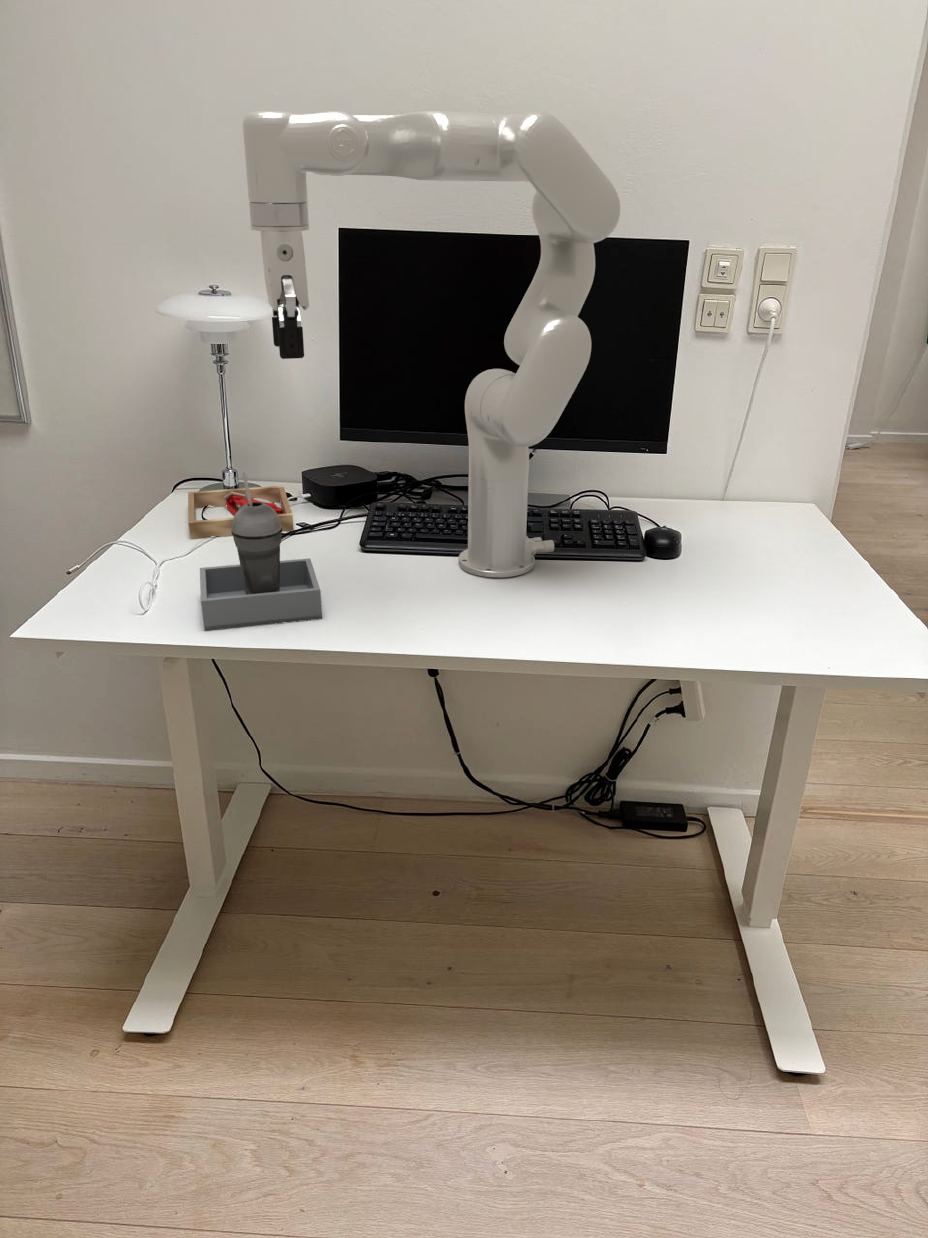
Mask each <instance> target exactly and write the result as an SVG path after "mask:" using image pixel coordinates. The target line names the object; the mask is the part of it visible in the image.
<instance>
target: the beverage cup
mask: <svg viewBox="0 0 928 1238" xmlns="http://www.w3.org/2000/svg"><path fill="white" fill-rule="evenodd" d="M241 474H242V478H243V484H244V488H245V489H246V494H247V499H248V503H247V504H245V505H244V506H242V507H241V506H240V508H238V509H239V510H238V511H237V513H236V514H235V516H234V515H233V516H234V517H232V518H233V522H232V530H231V533H232V535H233V536H232V538H233V541H234V544H235V547H236V550H237V555H238V561H239V564H240V566H241V571H242V577H243V582H244V587H245V592H246V595H248V594H259V593H269V592H280V561H281V543H282V536H283V535H282V534H283V532H282V530H283V529H282V526H281V523H280V519H279V517H278V515H277V513H276V512H275V510H274V509H273V508H271V507H270V506H268V505H267V504H265V503H261V502H252V501H251V496H250V491H249V488H250V486H249V482H248V477H247V473H246V471H245V472H244V471H243V472H242V473H241Z"/></svg>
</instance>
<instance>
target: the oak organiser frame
mask: <svg viewBox="0 0 928 1238" xmlns="http://www.w3.org/2000/svg"><path fill="white" fill-rule="evenodd" d="M249 491H250V496H251V498H261V499H265V500H268V501H271V502H276V503H279V504H281V505H280V508H281V507H282V508H281V509H282V510H283V513H282V514H277V515H278V517H279V519H280V523H281V526H282V529H283V530H282V531H286V532H293V531H292V530H294V518H293V511H292V509H291V506H290V502H289V500H288V496H287V493H286V490H285V486H284V485H271V486H260V487H259V486H257V487H249ZM230 492H236V493H240V494H244V495H245V497H243V499H247V494H246V489H245V487H243V488H230V489H215V490H199V491H188V492H187V503H188V509H187V510H188V519H187V520H188V529H189V538H190V540H198V538H199V539H207V538H206V537H211V536H224V537H233V535H232V533H231V530H232V522H233V518H234V517H227V518H226V517H225V518H213V519H210V518H209V519H201V520H197V518H196V517H197V516H196V509H203V508H202V507H205V506H207V505H211V506H221V507H227V506H226V499H223V498H224V497H225V496H226V495H227V494H229V493H230ZM230 502H231V501H230ZM236 506H239V505H238V504H237V503H236ZM294 531H295V530H294ZM211 538H212V537H211Z"/></svg>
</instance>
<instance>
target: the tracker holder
mask: <svg viewBox="0 0 928 1238" xmlns="http://www.w3.org/2000/svg"><path fill="white" fill-rule="evenodd" d="M243 497H245V495H244V494H240V493H236V492H230V493H229V494H227V495H226V496H225V497H224V498H223V499H226V505H227V506H226V507H227V509H228V510H229V512H230V513H231V514H232V515H233V516H235V514H236V513H237V511H238V510H239V509H240V508H241V507H242V506H244V505H245V504H247V503H248V499H243ZM230 501H231V502H230ZM251 501H252V502H261V503H265V504H267V505H268V506H270V507H271V508H273V509H274V510H275V512H276V513H277V514H283V512H282V511H283V510H282V508H281V506H280V507H279V506H277V504H276V503H273V502H271V501H268V500H265V499H261V498H251ZM236 503H237V504H238V505H236ZM238 506H239V507H240V508H238Z"/></svg>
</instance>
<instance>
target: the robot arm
mask: <svg viewBox="0 0 928 1238" xmlns="http://www.w3.org/2000/svg"><path fill="white" fill-rule="evenodd" d="M242 129H243V130H242V132H243V144H244V145H243V146H244V156H245V157H244V158H245V168H246V169H245V170H246V180H247V181H246V182H247V183H246V184H247V193H248V207H249V218H250V220H249V221H250V230H251V231H256V232H257V231H258V232H260V239H261V240H260V241H261V252H262V265H263V274H264V282H265V289H266V295H267V300H268V303H269V305H270V307H271V308H272V317H271V320H272V321H271V324H272V337H273V345H274V346H275V347H277V348H278V350H279V357H280V358H281V359H282V360H286V359H287V360H291V359H293V360H294V359H303V358H304V357H305V345H304V332H303V331H304V330H303V329H304V328H303V326H302V319H301V312H300V307H301V308H302V309H303V311H306V310H308V309H309V308H310V301H309V300H310V299H309V291H308V281H307V279H308V278H307V277H308V276H307V266H306V265H307V263H306V253H305V246H304V238H303V237H304V236H303V233H302V231H303V232H305V231H309V230H310V221H309V206H308V205H309V203H308V188H307V187H308V186H307V172H309V173H313V174H315V175H319V176H334V177H341V176H383V177H384V176H385V177H396V178H397V177H398V178H405V179H411V180H415V181H416V180H417V181H434V182H435V181H438V182H444V181H445V182H446V181H447V182H448V181H449V182H451V181H452V182H453V181H454V182H457V181H458V182H459V181H461V182H466V181H467V182H469V181H470V182H528V183H530V184H531V185H532V187H533V188H534V190H535V194H534V195H533V199H532V203H531V214H532V219H533V222H534V224H535V227H536V230H537V233H538V236H539V237H538V238H539V240H540V259H539V262H538V263H539V264H538V266H537V269H536V271H535V273H534V276H533V278H532V281H531V283H530V284H529V286H528V288H527V290H526V292H525V293H524V296H523V298H522V300H521V302H520V304H519V305H518V307H517V309H516V311H515V313H514V314H513V317H512V318H511V321H510V322H509V324H508V325H507V328H506V331H505V334H504V339H503V340H504V341H503V345H504V350H505V352H506V354H507V356H508V357H509V358H510V360H511V361H513V362H514V363H515V364H516V365H518V366H519V368H518V369H517V371H516V373H515V372H513V371H510V370H507V369H503V368H492V369H490V368H489V369H487V370H484V371H482V372H481V373H479V374H477V375H476V376H475V377H474V378H473V379H472V380H471V382H470V384H469V386H468V388H467V390H466V393H465V399H464V415H465V416H464V417H465V424H466V431H467V438H468V439H467V440H468V502H467V503H468V506H467V507H468V511H467V512H468V513H467V514H468V515H467V517H468V518H467V519H468V521H467V522H468V523H467V548H466V549H464V550H463V551H461V552H460V553H459V555H458V565H459V567H460V568H461V569H462V570H464V571H465V572H467V573H470V574H472V575H475V576H480V577H485V578H501V579H502V578H511V577H517V576H520V575H523V574H526V573H529V572H530V571H531V570H533V568H534V567H535V560H536V559H535V555H537V553H550V552H551V553H552V552H554V551H555V543H554V540H553V539H549V540H543V538H542V537H541V536H540V537H539V536H538V537H531V538H529V537H528V535H527V524H528V523H527V518H528V497H529V495H528V492H529V474H530V473H529V471H530V453H529V452H530V451H529V450H530V449H529V447H533V446H534V445H537V444H539V443H540V442H542V441H543V440H544V439H546V438H547V436H548V435H549V434H550V433H551V432H552V430H553V429H554V427H555V426H556V424H557V423H558V421H559V419H560V417H561V416H562V414H563V412H564V410H565V408H566V406H567V405H568V403H569V401H570V399H571V398H572V395H573V394H574V392H575V391H576V389H577V387H578V384H579V383H580V381H581V379H582V378H583V376H584V373H585V371H586V370H587V366H588V365H589V362H590V358H591V354H592V353H591V352H592V337H591V334H590V333H591V332H590V330H589V327H588V326H587V325H586V323H585V322H584V321H583V320H582V319H581V318H579V314H580V313H581V310H582V308H583V305H584V304H585V301H586V300H587V297H588V295H589V293H590V290H591V288H592V285H593V282H594V277H595V272H596V254H595V252H596V251H595V246H594V245H595V244H596V243H598V242H601V241H603V240H604V239H606V238H608V236H610V235H611V234H612V233H613V232H614V230H615V229H616V227H617V225H618V222H619V219H620V217H621V216H620V215H621V203H620V198H619V197H620V196H619V194H618V192H617V190H616V188H615V186H614V184H613V183H612V182H611V180H610V179H609V178H608V176H607V175H606V174H605V173H604V171H603V170H602V169H601V168H600V166H599V165H598V164H597V163H596V161H595V160H594V159H593V158H592V156H591V155H590V154H589V153H588V152H587V150H586V149H585V148H584V147H583V145H582V143H580V142H579V140H578V139H577V138H576V137H575V136H574V134H573V133H572V132H571V131H570V130H569V129H568V128H567V126H566V125H565V124H564V123H562V122H561V121H560V120H559V119H558V118H556V116H555V115H553V114H551V113H549V112H545V111H530V112H528V111H527V112H515V113H514V112H512V113H511V112H485V111H484V112H480V111H458V110H456V111H455V110H439V109H438V110H437V109H435V110H421V111H420V110H419V111H413V112H408V113H402V114H401V113H400V114H389V115H387V114H385V115H363V114H362V115H359V114H358V115H357V114H355V115H354V114H351V113H349V112H347V111H343V110H335V109H334V110H327V111H321V112H312V113H294V112H291V111H284V110H283V111H281V110H280V111H279V110H257V111H251V112H248V113H247V114H246V115H245V116H244V118H243V123H242Z"/></svg>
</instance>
